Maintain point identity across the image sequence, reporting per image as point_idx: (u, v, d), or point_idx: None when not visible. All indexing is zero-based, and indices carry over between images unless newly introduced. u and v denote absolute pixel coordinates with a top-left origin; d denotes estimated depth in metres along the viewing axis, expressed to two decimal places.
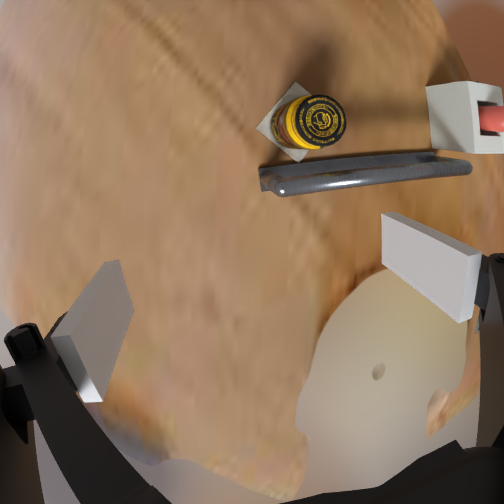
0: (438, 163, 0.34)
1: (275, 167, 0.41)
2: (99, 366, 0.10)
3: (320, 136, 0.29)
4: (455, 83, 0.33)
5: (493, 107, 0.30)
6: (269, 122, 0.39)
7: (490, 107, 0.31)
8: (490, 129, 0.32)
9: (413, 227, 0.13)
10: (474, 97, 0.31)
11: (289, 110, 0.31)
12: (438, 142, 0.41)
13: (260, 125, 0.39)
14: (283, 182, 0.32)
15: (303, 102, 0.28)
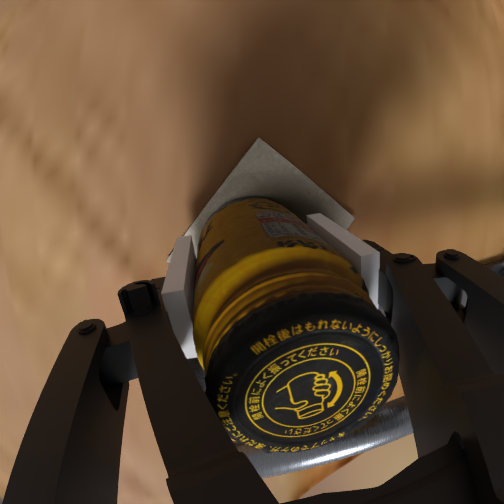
0: None
1: None
2: None
3: (298, 437, 0.08)
4: None
5: None
6: (196, 245, 0.18)
7: None
8: None
9: (326, 228, 0.14)
10: None
11: (200, 313, 0.09)
12: None
13: None
14: None
15: (232, 346, 0.07)
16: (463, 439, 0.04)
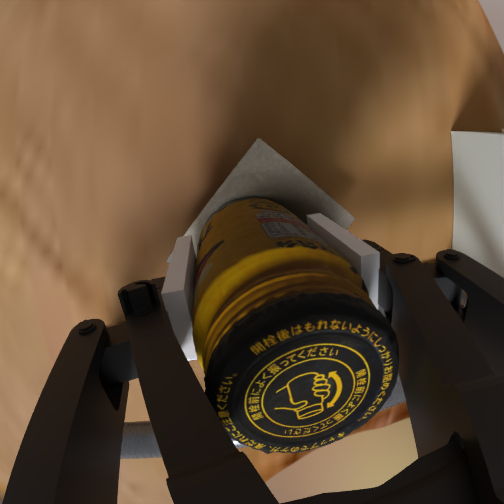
0: None
1: None
2: None
3: (297, 437, 0.08)
4: None
5: None
6: (196, 245, 0.18)
7: None
8: None
9: (326, 228, 0.14)
10: None
11: (200, 313, 0.09)
12: (466, 249, 0.21)
13: None
14: None
15: (231, 346, 0.07)
16: (463, 439, 0.04)
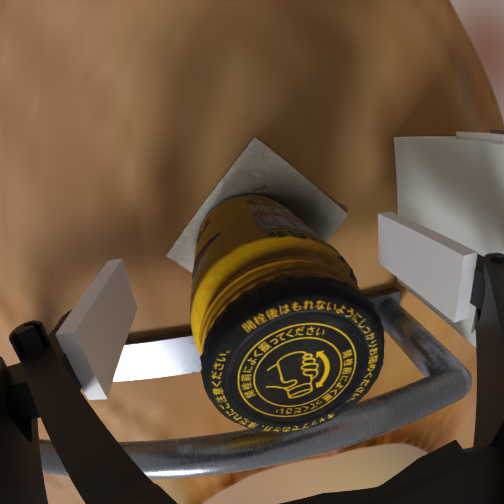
0: (367, 417, 0.12)
1: None
2: (103, 364, 0.10)
3: (289, 417, 0.09)
4: (474, 145, 0.11)
5: None
6: (195, 240, 0.19)
7: None
8: None
9: (409, 227, 0.13)
10: None
11: (197, 299, 0.10)
12: None
13: (176, 248, 0.19)
14: None
15: (225, 325, 0.07)
16: None
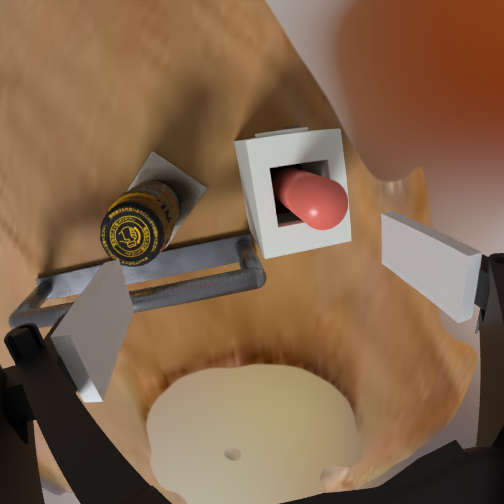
0: (190, 284, 0.28)
1: (48, 277, 0.35)
2: (99, 366, 0.10)
3: (130, 257, 0.24)
4: (242, 142, 0.27)
5: (296, 179, 0.24)
6: None
7: (293, 178, 0.25)
8: None
9: (413, 227, 0.13)
10: (262, 165, 0.25)
11: None
12: (249, 223, 0.35)
13: None
14: (11, 319, 0.26)
15: (105, 217, 0.23)
16: None
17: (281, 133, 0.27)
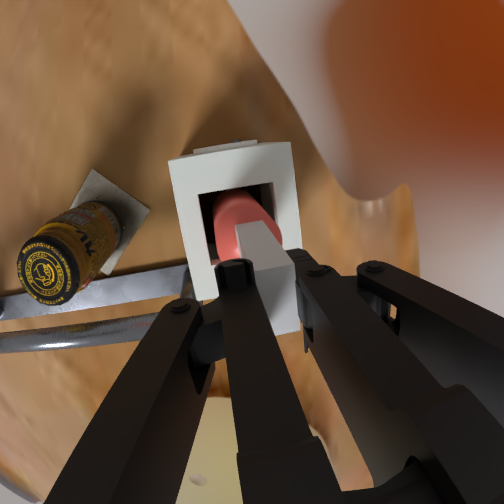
0: (117, 324, 0.23)
1: (0, 298, 0.30)
2: None
3: (46, 295, 0.19)
4: None
5: (225, 208, 0.20)
6: None
7: (223, 206, 0.21)
8: None
9: (258, 236, 0.14)
10: (189, 191, 0.21)
11: None
12: None
13: None
14: None
15: (20, 252, 0.18)
16: (423, 463, 0.03)
17: (218, 149, 0.22)
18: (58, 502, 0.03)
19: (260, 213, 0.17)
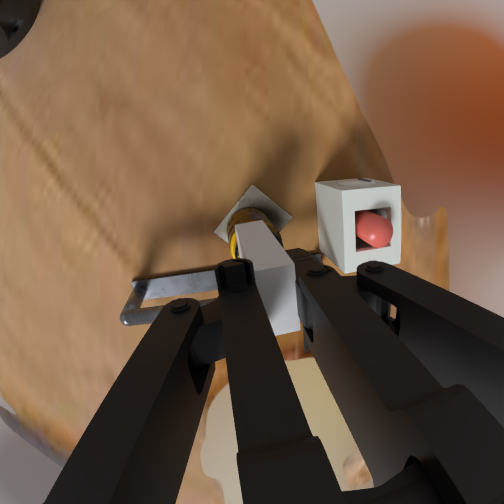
0: None
1: (145, 281, 0.45)
2: None
3: None
4: (333, 189, 0.38)
5: (361, 215, 0.38)
6: (226, 226, 0.45)
7: (359, 214, 0.38)
8: None
9: (258, 236, 0.14)
10: (350, 209, 0.36)
11: (233, 237, 0.36)
12: (322, 246, 0.46)
13: (218, 229, 0.45)
14: (124, 315, 0.37)
15: None
16: (423, 464, 0.03)
17: (360, 185, 0.37)
18: (58, 502, 0.03)
19: (385, 218, 0.35)
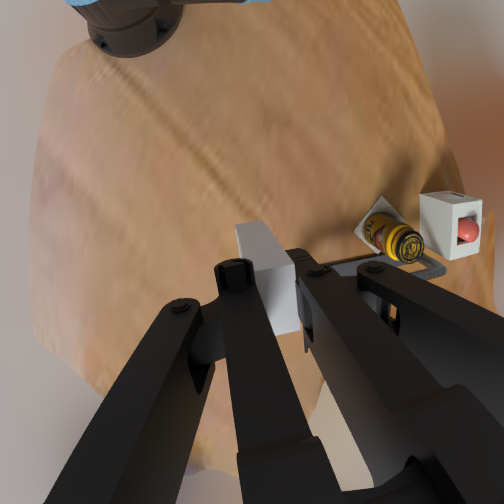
0: (419, 273, 0.49)
1: None
2: None
3: (409, 258, 0.45)
4: (443, 202, 0.48)
5: (458, 220, 0.48)
6: (362, 227, 0.55)
7: None
8: None
9: (258, 236, 0.14)
10: (456, 216, 0.46)
11: (389, 237, 0.47)
12: (424, 241, 0.56)
13: (356, 229, 0.55)
14: None
15: (402, 238, 0.44)
16: (423, 464, 0.03)
17: (458, 199, 0.48)
18: (58, 502, 0.03)
19: (476, 223, 0.46)
